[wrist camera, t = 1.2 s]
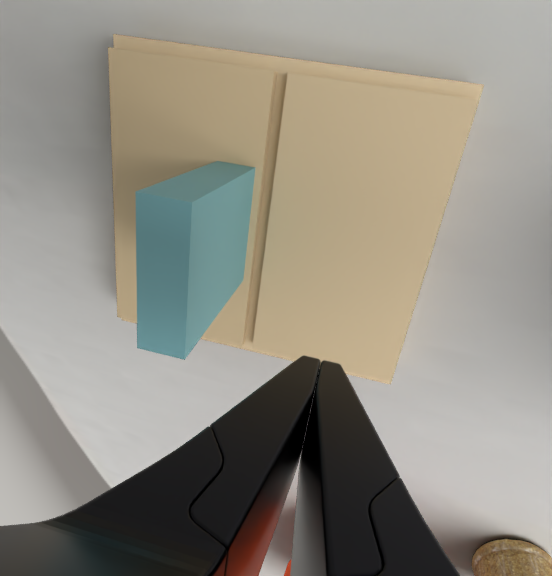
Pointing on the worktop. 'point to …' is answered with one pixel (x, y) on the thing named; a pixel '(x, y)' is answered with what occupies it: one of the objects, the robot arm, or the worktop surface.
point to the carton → (345, 203)
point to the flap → (186, 194)
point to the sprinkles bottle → (511, 559)
